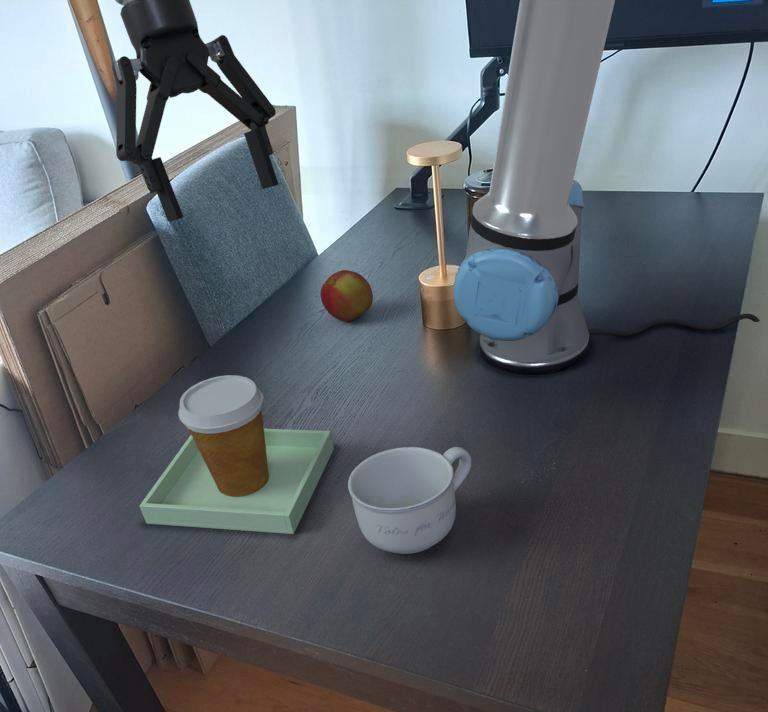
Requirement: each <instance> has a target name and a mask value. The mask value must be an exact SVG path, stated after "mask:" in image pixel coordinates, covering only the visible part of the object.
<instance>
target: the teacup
mask: <svg viewBox="0 0 768 712" xmlns="http://www.w3.org/2000/svg"><path fill="white" fill-rule="evenodd" d="M458 459H459V462H458V466H457V468H456V470H455V471H454V468H453V466H452V465H453V463H454V461H456V460H458ZM471 467H472V457H471V455H470V454H469V452H468V451H467V450H466V449H464V448H462V447H460V446H453V447H450V448H449V449H447V450H446V451H444V453H443V454H441V453H440V452H437V451H434V450H432V449H428V448H424V447H420V446H419V447H417V446H406V447H405V446H404V447H403V446H402V447H396V448H390V449H386V450H384V451H383V450H382V451H380V452H377V453H375V454H373V455H371V456H369V457H367V458H365V459H364V460H362V461H361V462H360V463H359V464H358V465H357V466H356V467H355V468H353V470H352V472H351V473H350V475H349V478H348V481H347V489H348V492H349V495H350V496H351V500H352V506H353V510H354V513H355V518H356V521H357V524H358V527H359V530H360V531H361V533H362V535H363V537H364V538H365V539H366V540H367V541H368V542H369V543H370V544H371V545H372V546H374V547H376V548H377V549H379V550H381V551H384V552H388V553H394V554H399V555H411V554H417V553H421V552H424V551H426V550H428V549H430V548H431V547H433V546H435V545H436V544H438V543H439V542H440V541H442V540H443V539H444V538H445V537H446V536H447V535H449V533H450V531H451V530H452V528H453V526H454V524H455V520H456V514H457V513H456V512H457V503H456V502H457V501H456V491H457V490H458V488H459V487H460V486H461V485H462V483H463V482H464V481H465V480H466V478H467V477H468V475H469V473H470V471H471Z"/></svg>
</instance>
